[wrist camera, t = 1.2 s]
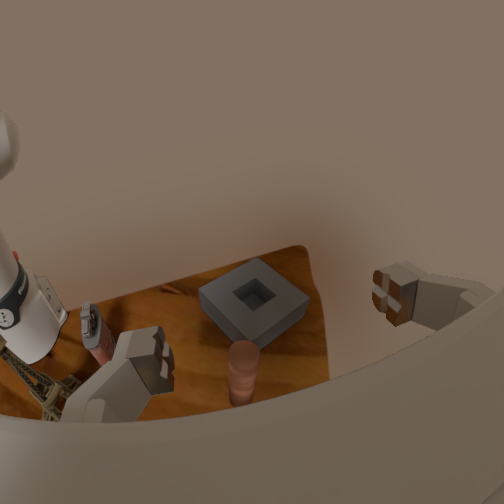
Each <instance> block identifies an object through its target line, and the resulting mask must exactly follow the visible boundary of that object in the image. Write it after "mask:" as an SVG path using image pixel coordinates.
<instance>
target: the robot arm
mask: <svg viewBox="0 0 504 504" xmlns="http://www.w3.org/2000/svg"><path fill="white" fill-rule="evenodd" d="M19 150H20V139H19V132H18V129H17V127H16V124H15V123H14V121H13V120H12V118H11V117H10V116H9V115H7V114H6V113H4V112H2V111H0V181H1V180H3V179H4V178H5V177H6V176H7V175H8V174H9V173H10V172H12V171H13V170H14V168H15V165H16V163H17V160H18V156H19ZM373 282H374V283H375V284H376V285H375V287H374V289H373V290H372V299H373V303H374V305H375V307H376V308H377V310H378V311H379V312H381V313H385V314H386V319H387V320H388V321H390V322H391V323H392V324H393V325H394V326H395V327H397V326H399V325H401V324H404V323H406V322H409V321H411V320H412V321H413V322H416V323H418V324H421V325H423V326H426V327H428V328H431V329H434V330H436V332H435V333H433V334H431V335H430V336H427V337H425V338H424V339H422V340H420V341H418V342H416V343H414V344H412V345H410V346H408V347H406V348H405V349H402V350H400V351H398V352H396V353H394V354H392V355H390V356H387V357H385V358H383V359H381V360H379V361H376V362H374V363H372V364H369V365H367V366H365V367H362V368H360V369H357V370H355V371H353V372H350V373H347V374H345V375H342V376H340V377H337V378H335V379H332V380H329V381H326V382H323V383H320V384H318V385H315V386H312V387H309V388H306V389H302V390H299V391H296V392H293V393H290V394H286V395H283V396H279V397H276V398H272V399H268V400H265V401H261V402H257V403H253V404H248V405H244V406H240V407H235V408H231V409H226V410H221V411H215V412H210V413H204V414H198V415H192V416H185V417H178V418H170V419H161V420H151V421H138V422H135V421H136V420H137V418H138V417H139V415H140V414H141V412H142V411H143V409H144V408H145V406H146V405H147V403H148V402H149V400H150V399H151V397H152V396H151V395H157V394H163V393H169V392H174V376H173V374H172V372H173V371H174V369H175V363H174V357H173V353H172V350H171V348H170V345H169V344H167V343H166V342H165V334H164V332H163V330H162V328H161V327H160V326H156V327H150V328H144V329H138V330H131V331H126V332H122V333H120V336H119V339H118V342H117V345H116V348H115V351H114V355H113V358H112V361H108V362H107V363H106V364H104V365H103V366H102V367H101V368H100V369H99V370H98V371H97V372H96V373H95V374H93V375H92V376H91V377H90V378H89V379H88V380H87V381H86V382H85V383H84V384H83V385H82V386H80V387H79V388H78V389H77V390H76V391H75V392H74V393H73V394H72V395H71V396H70V397H69V398H67V400H66V403H65V406H64V409H63V412H62V415H61V419H60V422H54V421H42V420H33V419H25V418H18V417H11V416H5V415H1V414H0V504H504V287H503V288H502V289H501V290H499V291H498V292H497V293H496V292H494V291H493V290H491V289H489V288H488V287H486V286H485V285H483V284H482V283H480V282H475V281H470V280H464V279H459V278H453V277H447V276H441V275H435V274H431V275H429V274H428V273H426V272H424V271H423V270H421V269H419V268H418V267H416V266H415V265H413V264H411V263H410V262H408V261H405V260H404V261H401V262H398V263H395V264H393V265H390V266H388V267H385V268H382V269H379V270H376V271H375V272H374V274H373ZM67 317H68V314H67V312H66V310H65V309H64V307H63V306H62V304H61V302H60V301H59V299H58V297H57V295H56V294H55V292H54V290H53V288H52V287H51V285H50V283H49V281H48V279H47V278H46V277H45V276H43V277H42V276H41V277H36V276H35V274H34V272H33V270H32V269H29V268H25V269H24V268H23V267H22V265H21V264H20V263H19V262H18V255H17V253H16V251H13V252H11V250H10V247H9V245H8V243H7V241H6V239H5V237H4V234H3V232H2V230H1V229H0V334H1V336H2V337H3V338H4V339H5V340H6V341H7V343H6V345H5V346H6V347H7V348H9V349H10V350H11V351H12V352H13V353H14V354H15V355H17V356H18V357H19V358H20V359H21V360H23V361H24V362H25V363H27V364H31V363H34V362H36V361H38V360H40V359H41V358H43V357H44V356H45V355H46V354H47V353H48V352H49V351H50V350H51V348H52V347H53V345H54V343H55V341H56V339H57V336H58V333H59V330H60V328H61V326H62V325H63V323H64V322H65V321H66V319H67Z"/></svg>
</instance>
